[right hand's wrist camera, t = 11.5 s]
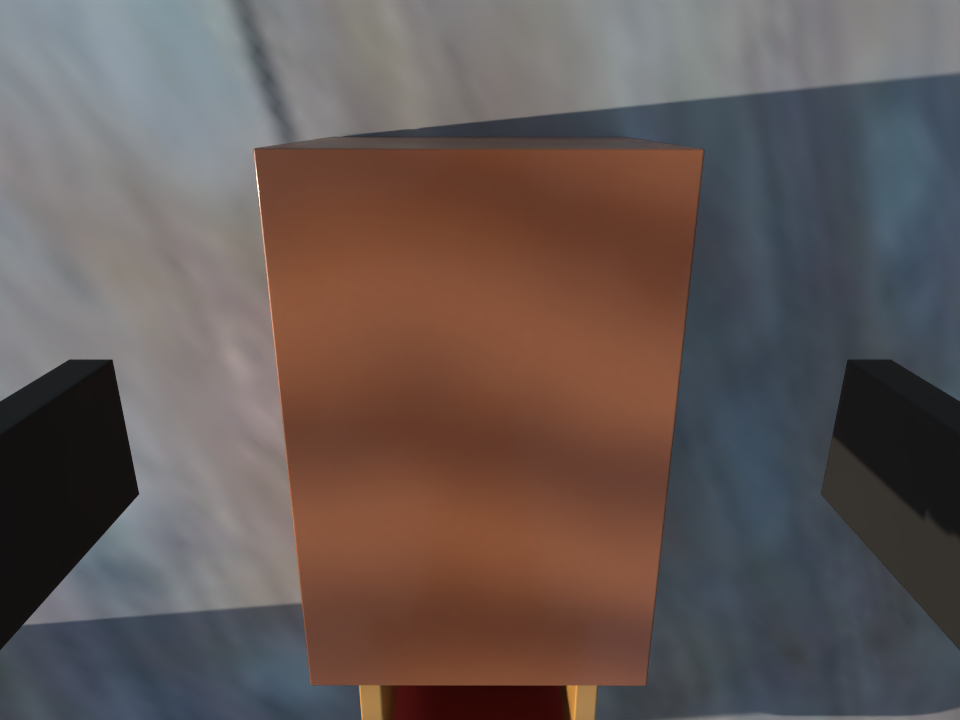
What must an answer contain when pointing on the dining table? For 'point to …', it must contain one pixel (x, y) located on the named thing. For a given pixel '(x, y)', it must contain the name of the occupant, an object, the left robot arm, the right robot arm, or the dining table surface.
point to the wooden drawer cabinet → (478, 398)
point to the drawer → (478, 702)
